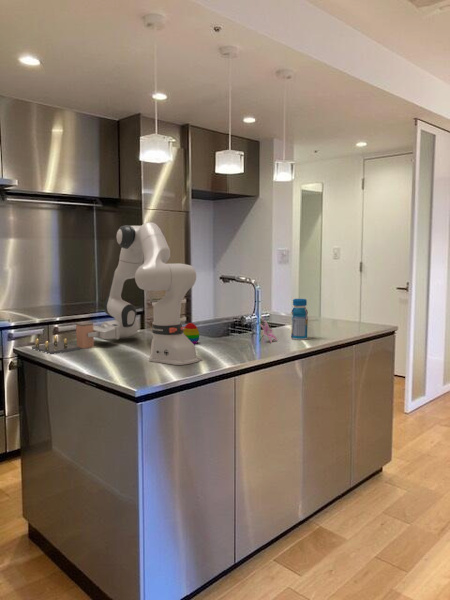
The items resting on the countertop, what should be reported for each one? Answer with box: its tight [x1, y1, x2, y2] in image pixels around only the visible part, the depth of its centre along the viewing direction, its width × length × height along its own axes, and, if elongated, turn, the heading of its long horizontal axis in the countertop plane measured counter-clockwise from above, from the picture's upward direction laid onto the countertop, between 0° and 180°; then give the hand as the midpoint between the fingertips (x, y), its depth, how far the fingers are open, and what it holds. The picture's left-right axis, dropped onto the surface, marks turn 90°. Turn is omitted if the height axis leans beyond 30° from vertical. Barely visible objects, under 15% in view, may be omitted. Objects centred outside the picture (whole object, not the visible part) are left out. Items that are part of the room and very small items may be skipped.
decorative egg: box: [183, 322, 200, 345], centre depth 231 cm, size 8×8×10 cm
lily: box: [259, 320, 279, 344], centre depth 236 cm, size 12×12×10 cm
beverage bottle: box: [290, 298, 309, 341], centre depth 242 cm, size 8×8×20 cm
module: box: [75, 321, 95, 350], centre depth 223 cm, size 6×6×11 cm
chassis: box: [31, 335, 81, 355], centre depth 218 cm, size 17×14×5 cm
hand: (83, 334), depth 223 cm, fingers closed on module, 5 cm apart
